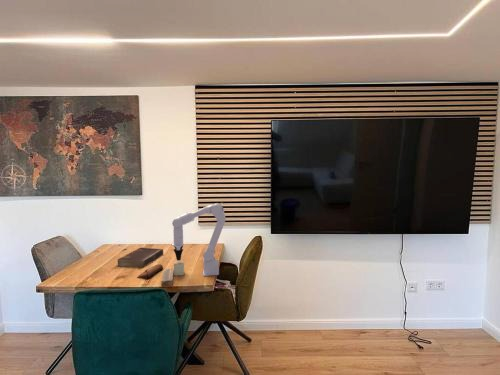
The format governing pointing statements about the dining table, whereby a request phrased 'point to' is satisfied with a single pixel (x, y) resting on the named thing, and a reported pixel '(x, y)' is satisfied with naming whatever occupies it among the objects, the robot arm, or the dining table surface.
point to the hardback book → (140, 257)
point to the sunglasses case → (150, 271)
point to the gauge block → (178, 268)
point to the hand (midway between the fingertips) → (178, 258)
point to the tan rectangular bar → (167, 277)
